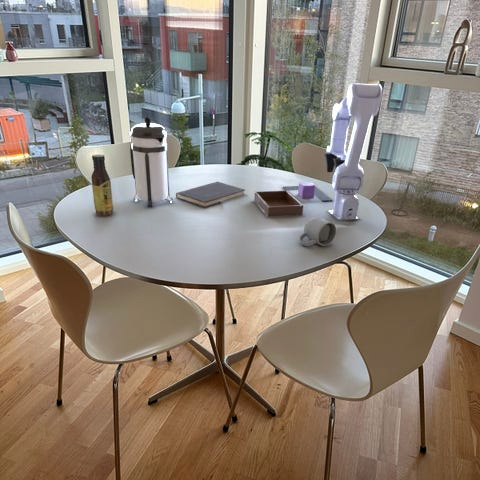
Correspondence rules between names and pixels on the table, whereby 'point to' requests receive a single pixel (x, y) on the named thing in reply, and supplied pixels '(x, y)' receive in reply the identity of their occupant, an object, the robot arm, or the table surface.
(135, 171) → the coffee press
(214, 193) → the hardcover book
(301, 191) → the block
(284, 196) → the brown wooden tray
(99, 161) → the sauce bottle
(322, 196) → the mat
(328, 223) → the ceramic mug
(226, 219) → the table surface
